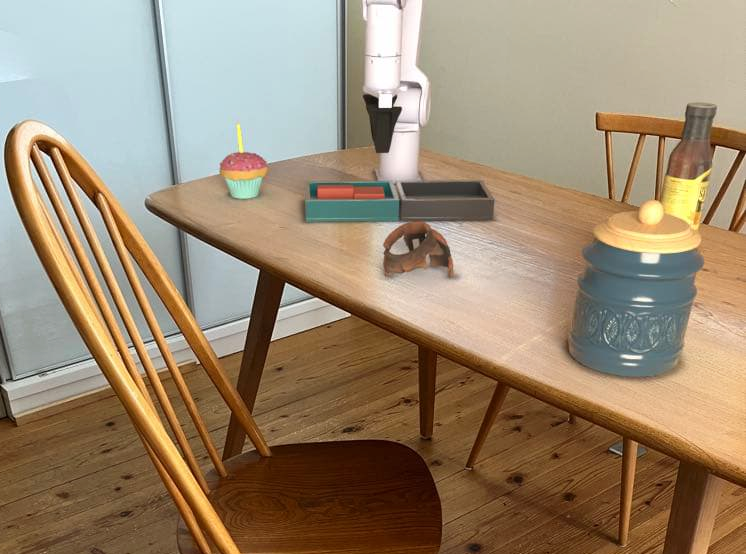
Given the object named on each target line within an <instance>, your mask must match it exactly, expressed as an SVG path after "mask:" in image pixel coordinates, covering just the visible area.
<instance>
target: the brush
mask: <svg viewBox="0 0 746 554" xmlns="http://www.w3.org/2000/svg"><path fill="white" fill-rule="evenodd" d="M317 198H318V199H384V190H383V187H354V186H353V185H317Z"/></svg>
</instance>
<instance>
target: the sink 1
mask: <svg viewBox="0 0 746 554" xmlns="http://www.w3.org/2000/svg"><path fill="white" fill-rule="evenodd" d="M317 185H353V186H354V187H383V190H384V199H318V198H317ZM304 210H305V211H304V212H305V222H306V223H346V222H347V223H353V222H354V223H356V222H359V223H361V222H363V223H364V222H365V223H366V222H367V223H368V222H399V218H400V217H399V198H398V195H397V192H396V189H395V184H394V183H393V181H378V180H310V181H309V180H306V181H305V180H304Z"/></svg>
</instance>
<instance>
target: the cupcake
mask: <svg viewBox="0 0 746 554" xmlns="http://www.w3.org/2000/svg"><path fill="white" fill-rule="evenodd" d="M236 123H237V124H236V135H237V143H238V152H233V153H230V154H228V155H226V156H225V157H224V158H223V159H222V160H221V162H219V171H218V172H219V175H220V176H221V177H222V178H223V179H224V181H225V182H226V185H227V187H228V190H229V193H230V196H231V197H232V198H235V199H238V200H239V199H240V200H248V199H254V198H256V197H258V196H259V194H260V189H261V184H262V181H263V179H264V177H266V176H267V175H268V173H269V164H268V161H266V159H264V158H263V156H260V155H259V154H257V153H255V152H248V151H245V152H244V149H243V148H244V147H243V138H242V137H243V136H242V128H241V127H242V126H241V124H240V122H239V119H236Z"/></svg>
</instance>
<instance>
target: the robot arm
mask: <svg viewBox="0 0 746 554" xmlns="http://www.w3.org/2000/svg"><path fill="white" fill-rule="evenodd" d="M361 2H362V17H363V19H362V21H364V22H365V27H364V28H365V30H364V83H363V85H362V91H363V92H364V93H365V94H362V99H363V101H364V103H365V109H366V112H367V114H368V120H369V125H370V134H371V139H372V142H373V145H374V150H375V153H376V154H379V167H376V168H375V169H374V173H375V175H376V179H377V181H393V183H394V185H395V181H423V180H422V176H421V175H420V172H419V163H420V162H419V161H420V141H421V129H422V127H423V128H424V127H426V125H427V124H428V122H429V120H430V114H431V107H432V104H431V103H432V95H431V93H432V83H431V80H430V78H429V76H428V75H427V74H426V73H424V72H423V71H422V70H421V69H420V68H419V61H420V53H421V43H422V36H423V35H422V34H423V26H424V17H425V10H426V9H425V8H426V0H361Z"/></svg>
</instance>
